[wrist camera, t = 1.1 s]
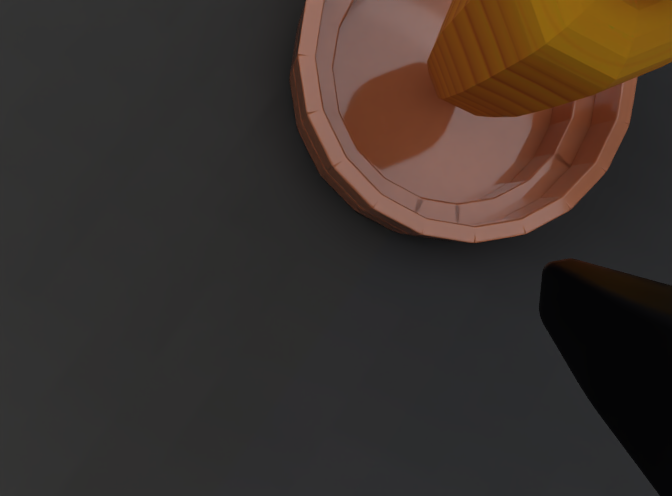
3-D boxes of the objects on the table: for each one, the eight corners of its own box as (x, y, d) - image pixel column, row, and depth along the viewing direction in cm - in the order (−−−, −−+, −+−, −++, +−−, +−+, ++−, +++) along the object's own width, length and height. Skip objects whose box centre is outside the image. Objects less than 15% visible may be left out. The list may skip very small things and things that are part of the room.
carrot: (357, 81, 22) (588, -192, 8) (445, -6, 23) (828, -426, 8) (443, 173, 23) (807, 90, 8) (527, 88, 23) (1015, -137, 9)
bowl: (624, 157, 25) (687, 147, 21) (375, 291, 23) (399, 303, 20) (507, -117, 23) (554, -176, 20) (234, 6, 22) (233, -34, 18)
